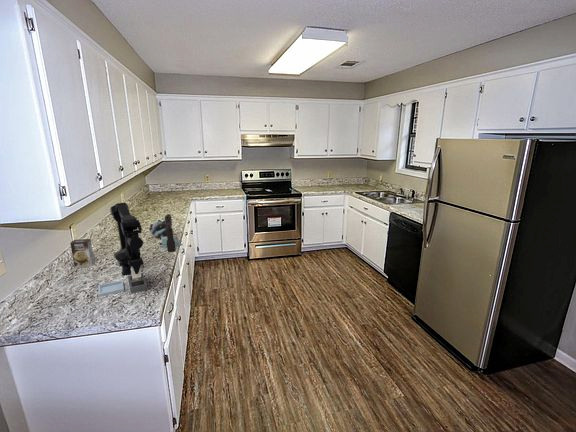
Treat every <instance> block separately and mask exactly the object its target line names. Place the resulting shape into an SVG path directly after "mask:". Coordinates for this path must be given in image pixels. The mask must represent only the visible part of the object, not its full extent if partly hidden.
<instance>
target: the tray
mask: <svg viewBox="0 0 576 432" xmlns="http://www.w3.org/2000/svg"><path fill="white" fill-rule="evenodd" d="M97 286H98V289H97V290H98V297H99V298H100V297H101V298H102V297H105V296H109V295H114V294H119V293H123V292H125V289H124V287H125V286H124V282H123V279H122V280H118V281H113V282H107V283H102V284H98V285H97Z"/></svg>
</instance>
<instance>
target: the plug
mask: <svg viewBox="0 0 576 432" xmlns="http://www.w3.org/2000/svg"><path fill="white" fill-rule="evenodd" d="M141 270H142V269H141V268H140V270H139V272H138V274H135V271H134V269H133V266H132V267H131V272H132V278H137V277H141V273H142V271H141Z"/></svg>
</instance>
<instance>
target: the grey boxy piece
mask: <svg viewBox="0 0 576 432" xmlns="http://www.w3.org/2000/svg"><path fill="white" fill-rule="evenodd" d="M127 281H128V286H129V290H130V294H136V293H139V292H144V291H148V284H147V281H146V278H145V274H144V272H141V277H137V278H132V272H131V275H127Z"/></svg>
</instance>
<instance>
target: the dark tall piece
mask: <svg viewBox="0 0 576 432" xmlns="http://www.w3.org/2000/svg"><path fill="white" fill-rule="evenodd" d="M164 221H165V223H166V235H165V236H163V237H161V238H160V239H161V242H159V246H158V247H159V248H160V249H161V248H162V249H166V248H167V253H174V252H176V248H177V247H181V246H184V245H183V243H181V242H180V240H179V238H178V237H177V236H174V232H173V228H172V227H173V226H172V225H173V221H172V215H171V214H170V213H167V214H166V215H165V216H164Z"/></svg>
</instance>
